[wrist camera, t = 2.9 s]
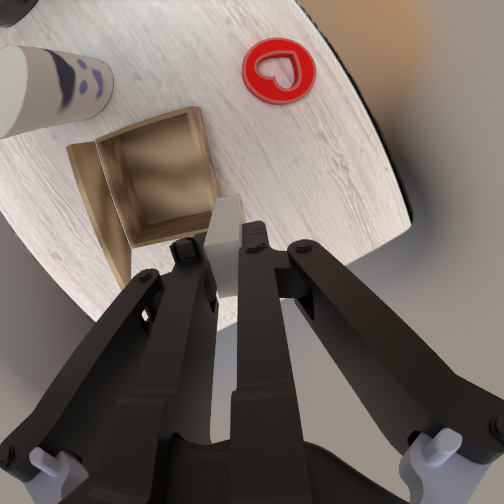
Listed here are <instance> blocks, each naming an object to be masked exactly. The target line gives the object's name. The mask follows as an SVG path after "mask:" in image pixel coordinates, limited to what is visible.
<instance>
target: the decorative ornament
mask: <svg viewBox="0 0 504 504" xmlns="http://www.w3.org/2000/svg"><path fill="white" fill-rule="evenodd" d="M275 57H289V58H290V60H291V63H292V66H293V69H294V76H295V78H294V83H293V85H292V87H291V88H290V89H284V88H282V87H280V86H279V85H278V84H277V82H276V80H275V77H266V76H263V75H261V74H260V73H259V71H258V69H257V65H258V64H259V63H260V62H262V61H264V60H266V59H270V58H275ZM242 76H243V81H244V83H245V85H246V87H247V88H248V90H249V91H250V92H251V93H252V94H253V95H254V96H256V97H257V98H258V99H260V100H262V101H264V102H267V103H271V104H287V103H292V102H295V101H297V100H299V99H301V98H303V97H304V96H305V95H306V94H307V93H308V92H309V91H310V90H311V88H312V87H313V84H314V82H315V78H316V67H315V63H314V60H313V58H312V56H311V55H310V53H309V52H308V51H307V50H306V49H305V48H304V47H303V46H302V45H300V44H299V43H297V42H295V41H292V40H289V39H285V38H269V39H266V40H263V41H260V42H258V43H257V44H255V45H254V46H253V47H252V48H251V49H250V50H249V51H248V53H247V54H246V56H245V58H244V61H243V67H242Z"/></svg>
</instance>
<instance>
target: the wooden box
mask: <svg viewBox="0 0 504 504" xmlns="http://www.w3.org/2000/svg"><path fill="white" fill-rule="evenodd" d="M95 140H96V144H97V148H98V151H99V155H100V158H101V162H102V165H103V168H104V172H105V175H106V178H107V181H108V184H109V187H110V190H111V193H112V196H113V199H114V202H115V205H116V208H117V211H118V214H119V216H120V219H121V222H122V224H123V227H124V230H125V232H126V235H127V238H128V240H129V243H130V245H131V248H137V247H142V246H146V245H151V244H155V243H160V242H165V241H169V240H174V239H179V238H184V237H188V236H193V235H196V234H197V233H202V232H207V231H208V228H209V224H210V220H211V216H212V213H213V209H214V205H215V202H216V198H220V193H219V189H218V185H217V181H216V177H215V173H214V168H213V164H212V160H211V156H210V151H209V147H208V143H207V138H206V134H205V130H204V125H203V121H202V116H201V112H200V107H187V108H184V109H180V110H176V111H173V112H170V113H166V114H163V115H160V116H157V117H153V118H150V119H147V120H144V121H141V122H139V123H136V124H133V125H130V126H127V127H125V128H122V129H119V130H117V131H114V132H112V133H109V134H107V135H104V136H102V137H100V138H97V139H95Z"/></svg>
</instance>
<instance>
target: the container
mask: <svg viewBox="0 0 504 504" xmlns="http://www.w3.org/2000/svg"><path fill="white" fill-rule="evenodd" d="M112 90H113V76H112V72H111V70H110V68H109V67H108V66H107V64H105V63H104V62H102V61H100V60H97V59H93V58H88V57H84V56H80V55H75V54H70V53H65V52H60V51H54V50H48V49H42V48H35V47H27V46H17V45H7V46H4V47H2V48H0V140H1V139H4V138H7V137H10V136H14V135H17V134H21V133H25V132H28V131H32V130H36V129H40V128H45V127H49V126H54V125H59V124H64V123H69V122H74V121H80V120H86V119H89V118H92V117H94V116H95V115H97V114H98V113H99V112H100V111H102V109H103V108H104V107H105V106H106V104H107V103H108V101H109V99H110V96H111V94H112Z"/></svg>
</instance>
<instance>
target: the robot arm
mask: <svg viewBox="0 0 504 504" xmlns="http://www.w3.org/2000/svg"><path fill="white" fill-rule="evenodd" d="M37 1H38V0H0V27H9V26H12V25H14V24H15V23H17V22H18V21H19V20H21V19H22V18H23V17H24V16H25V15H26V14H27V13H28V12H29V11H30V10H31V9H32V8H33V6H34V5H35V4H36V3H37ZM170 250H171V253H172V256H173V258H174V261H175V265H174V268H173V270H172V272H169V273H167V274H164V275H161V276H160V274H159V271H158V270H157V269H145V270H142V271H141V272H140V273H138V274H137V275H135V276H134V277H133V278H132V280H131V281H130V282H129V283H128V284H127V285H126V287H125V288H124V289H123V290H122V291H121V293H120V294H119V295H118V296H117V297H116V299H115V300H114V301H113V302H112V304H111V305H110V306H109V307H108V308H107V310H106V311H105V312H104V313H103V315H102V316H101V317H100V318H99V320H98V321H97V322H96V323H95V325H94V326H93V327H92V329H91V330H90V331H89V332H88V334H87V335H86V336H85V338H84V339H83V340H82V342H81V343H80V344H79V346H78V347H77V348H76V350H75V351H74V352H73V354H72V355H71V357H70V358H69V359H68V361H67V362H66V364H65V365H64V366H63V368H62V369H61V371H60V372H59V374H58V375H57V376H56V378H55V379H54V381H53V382H52V383H51V385H50V386H49V388H48V389H47V391H46V393H45V394H44V396H43V397H42V399H41V400H40V402H39V403H38V405H37V406H36V408H35V409H34V411H33V413H32V414H30V415H29V417H27V418H26V419H25V420H24V421H23V422H22V423H21V424H20V425H19V426H18V427H17V428H16V429H15V430H14V431H13V432H12V433H11V434H10V435H9V436H8V437H7V438H6V439H5V440H4V441H3V442H2V443H1V445H0V467H1V468H2V469H3V470H4V471H6V472H7V473H9V474H11V475H12V476H14V477H15V478H17V479H19V480H20V481H22V482H23V483H24V485H25V487H26V489H27V491H28V492H29V494H30V496H31V498H32V500H33V501H34V503H35V504H466V503H467V502H468V500H469V499H470V497H471V496H472V494H473V493H474V491H475V490H476V488H477V486H478V485H479V483H480V481H481V480H482V478H483V476H484V475H485V473H486V471H487V469H488V468H489V466H490V465H491V463H493V461H495V460H496V459H497V458H499V457H500V456H501V455H502V454H504V400H503V399H501V398H499V397H497V396H495V395H493V394H492V393H489V392H488V391H486V390H484V389H482V388H480V387H478V386H476V385H475V384H473V383H471V382H469V381H467V380H465V379H463V378H461V377H460V376H458V375H456V374H455V373H454V372H453V371H452V370H451V369H450V368H449V367H448V366H447V364H445V362H444V361H443V360H442V359H441V358H440V357H439V356H438V355H437V354H436V353H435V352H434V351H433V350H432V349H431V348H430V347H429V346H428V345H427V344H426V343H425V342H424V341H423V340H422V339H421V338H420V337H419V336H418V335H417V334H416V333H415V332H414V331H413V330H412V329H411V328H410V327H409V326H408V325H407V324H406V323H405V322H404V321H403V320H402V319H401V318H400V317H399V316H398V315H397V314H396V313H395V312H394V311H393V310H392V309H390V307H388V306H387V305H386V304H385V303H384V302H383V301H382V300H381V299H380V298H379V297H378V296H376V294H375V293H373V292H372V291H371V290H370V289H369V288H368V287H367V286H366V285H365V284H364V283H363V282H362V281H360V280H359V279H358V278H357V277H356V276H355V275H354V274H353V273H352V272H350V270H348V269H347V268H346V267H345V266H344V265H343V264H342V263H341V262H339V261H338V260H337V259H336V258H335V257H334V256H333V255H332V254H330V253H329V252H328V251H327V250H326V249H325V248H324V247H322V246H321V245H320V244H319V243H318V242H316V241H313V240H309V239H302V240H299V241H296V242H293V243H291V244H290V245H289V246H288V248H287V251H278V250H274V249H272V248H271V247H270V245H269V241H268V236H267V231H266V226H265V223H264V222H262V221H261V220H260V221H255V222H249V223H246V220H245V215H244V210H243V206H242V201H241V197H240V194H235V195H230V196H226V197H221V198H216V202H215V205H214V209H213V213H212V216H211V220H210V224H209V228H208V231H207V232H202V233H197V234H196V235H195V236H194V237H192V236H191V237H185V238H181V239H179V240H177V241H175V242H174V243H172V244H171V245H170ZM217 291H218V295H219V298H224V297H230V296H236V295H238V318H237V389H236V391H233V392H232V395H231V420H230V421H231V422H230V427H231V428H230V439H229V440H225V441H221V442H218V443H214V444H212V443H211V440H210V416H211V400H212V384H213V370H214V357H215V345H216V332H217V321H218V309H219V303H218V300H217V297H216V292H217ZM280 298H294V301H295V304H296V305H297V307H298V308H299V310H300V311H301V313H302V314H303V316H304V317H305V319H306V320H307V322H308V323H309V325H310V326H311V328H312V329H313V331H314V332H315V333H316V335H317V336H318V338H319V339H320V341H321V342H322V344H323V345H324V347H325V348H326V349H327V351H328V353H329V354H330V356H331V357H332V359H333V360H334V362H335V363H336V365H337V366H338V368H339V369H340V370H341V372H342V373H343V375H344V376H345V378H346V379H347V381H348V382H349V384H350V385H351V387H352V388H353V390H354V391H355V393H356V394H357V396H358V397H359V399H360V400H361V402H362V403H363V405H364V406H365V408H366V409H367V411H368V412H369V414H370V415H371V417H372V418H373V420H374V421H375V423H376V424H377V426H378V427H379V429H380V430H381V432H382V433H383V435H384V436H385V437H386V439H387V440H388V441H389V442H390V444H391V445H392V446H393V447H394V448H395V449H396V450H397V451H398V452H399V453H400V454H401V455H402V456H403V457H402V458H401V461H400V464H399V473H400V477H401V478H402V480H403V481H404V482H405V483H406V485H407V486H408V488H409V490H410V502H409V503H408V502H406V501H405V500H403V499H401V498H399V497H398V496H396V495H394V494H393V493H391V492H389V491H388V490H386V489H384V488H383V487H381V486H380V485H378V484H377V483H375V482H373V481H372V480H370V479H369V478H367V477H366V476H364V475H363V474H361V473H360V472H358V471H357V470H356V469H354V468H353V467H351V466H350V465H348V464H347V463H345V462H344V461H343V460H341V459H340V458H338V457H337V456H336V455H335V454H333V453H332V452H330V451H328V450H326V449H324V448H323V447H320V446H318V445H316V444H313V443H309V442H306V441H304V440H303V433H302V427H301V421H300V414H299V408H298V402H297V396H296V390H295V384H294V379H293V373H292V367H291V361H290V355H289V350H288V344H287V338H286V332H285V326H284V321H283V315H282V310H281V304H280ZM144 310H145V311H146V313H147V315H148V319H147V320H146V321H145V320H144V319H143V317H142V315H141V314H142V312H143V311H144Z"/></svg>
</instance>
